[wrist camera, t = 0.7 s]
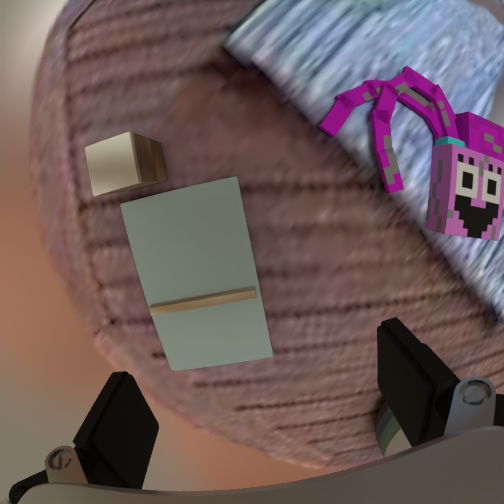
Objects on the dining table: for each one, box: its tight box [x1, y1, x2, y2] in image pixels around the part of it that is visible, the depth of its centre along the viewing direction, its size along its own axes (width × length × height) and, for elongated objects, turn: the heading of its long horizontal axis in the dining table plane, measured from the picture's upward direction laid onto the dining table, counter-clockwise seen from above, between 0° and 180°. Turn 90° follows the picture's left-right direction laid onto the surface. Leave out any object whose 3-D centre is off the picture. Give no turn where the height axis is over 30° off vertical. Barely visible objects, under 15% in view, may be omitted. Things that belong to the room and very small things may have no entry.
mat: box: [120, 176, 273, 371], centre depth 36 cm, size 23×14×1 cm, turn 11°
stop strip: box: [149, 286, 257, 315], centre depth 35 cm, size 1×13×1 cm, turn 101°
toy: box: [319, 66, 504, 241], centre depth 30 cm, size 27×5×20 cm
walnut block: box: [85, 132, 168, 196], centre depth 28 cm, size 4×4×10 cm
